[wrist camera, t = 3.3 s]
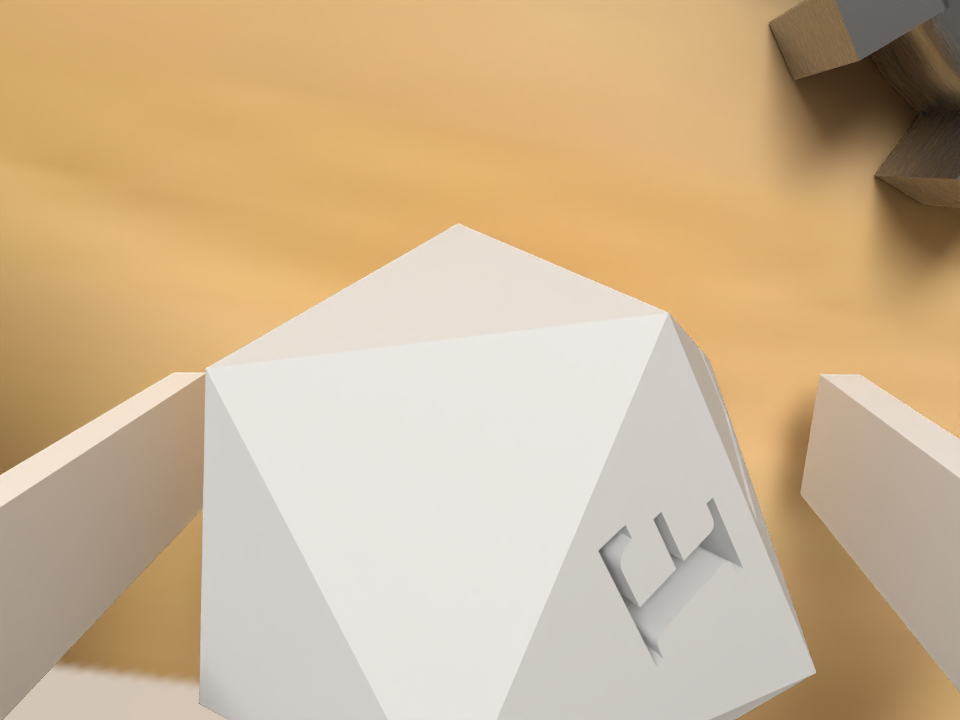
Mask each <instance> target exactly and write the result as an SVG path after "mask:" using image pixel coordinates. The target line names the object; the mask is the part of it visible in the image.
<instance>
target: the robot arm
mask: <svg viewBox="0 0 960 720" xmlns="http://www.w3.org/2000/svg"><path fill="white" fill-rule="evenodd" d="M205 378H206V372H174V373H172V374H170V375H168V376H167V377H165V378H163V379H162V380H160V381H158V382H157V383H155V384H153V385H152V386H150V387H148V388H147V389H145V390H143V391H141V392H140V393H138V394H136V395H135V396H133V397H131V398H130V399H128V400H126V401H125V402H123V403H121V404H119V405H118V406H116V407H114V408H113V409H111V410H109V411H108V412H106V413H104V414H103V415H101V416H99V417H98V418H96V419H94V420H92V421H91V422H89V423H87V424H86V425H84V426H82V427H81V428H79V429H77V430H76V431H74V432H72V433H70V434H69V435H67V436H65V437H64V438H62V439H60V440H59V441H57V442H55V443H54V444H52V445H50V446H49V447H47V448H45V449H43V450H42V451H40V452H38V453H37V454H35V455H33V456H32V457H30V458H28V459H27V460H25V461H23V462H21V463H20V464H18V465H16V466H15V467H13V468H11V469H10V470H8V471H6V472H5V473H3V474H1V475H0V720H3V719H4V718H5V717H6V716H7V715H8V714H9V713H10V712H11V710H12V709H13V708H14V707H15V706H16V705H17V704H18V703H19V702H20V701H21V700H22V699H23V698H24V697H25V696H26V695H27V694H28V693H29V691H30V690H31V689H32V688H33V687H34V686H35V685H36V684H37V683H38V682H39V681H40V680H41V679H42V678H43V677H44V676H45V675H46V674H47V672H48V671H49V670H50V669H51V668H52V667H53V666H54V665H55V664H56V663H57V662H58V661H59V660H60V659H61V658H62V657H63V656H64V655H65V653H66V652H67V651H68V650H69V649H70V648H71V647H72V646H73V645H74V644H75V643H76V642H77V641H78V640H79V639H80V638H81V637H82V635H83V634H84V633H85V632H86V631H87V630H88V629H89V628H90V627H91V626H92V625H93V624H94V623H95V622H96V621H97V620H98V619H99V618H100V616H101V615H102V614H103V613H104V612H105V611H106V610H107V609H108V608H109V607H110V606H111V605H112V604H113V603H114V602H115V601H116V600H117V598H118V597H119V596H120V595H121V594H122V593H123V592H124V591H125V590H126V589H127V588H128V587H129V586H130V585H131V584H132V583H133V582H134V581H135V579H136V578H137V577H138V576H139V575H140V574H141V573H142V572H143V571H144V570H145V569H146V568H147V567H148V566H149V565H150V564H151V563H152V561H153V560H154V559H155V558H156V557H157V556H158V555H159V554H160V553H161V552H162V551H163V550H164V549H165V548H166V547H167V546H168V545H169V544H170V542H171V541H172V540H173V539H174V538H175V537H176V536H177V535H178V534H179V533H180V532H181V531H182V530H183V529H184V528H185V527H186V526H187V524H188V523H189V522H190V521H191V520H192V519H193V518H194V517H195V516H196V515H197V514H198V513H199V512H200V511H201V510H202V509H203V482H204V430H205ZM800 494H801V496H802V497H803V498H804V499H805V501H806V502H807V503H808V504H809V506H810V507H811V508H812V509H813V511H814V512H815V513H816V514H817V516H818V517H819V518H820V519H821V520H822V522H823V523H824V524H825V525H826V527H827V528H828V529H829V530H830V532H831V533H832V534H833V535H834V537H835V538H836V539H837V540H838V542H839V543H840V544H841V545H842V547H843V548H844V549H845V550H846V552H847V553H848V554H849V555H850V557H851V558H852V559H853V560H854V562H855V563H856V564H857V565H858V566H859V568H860V569H861V570H862V571H863V573H864V574H865V575H866V576H867V578H868V579H869V580H870V581H871V583H872V584H873V585H874V586H875V588H876V589H877V590H878V591H879V593H880V594H881V595H882V596H883V598H884V599H885V600H886V601H887V603H888V604H889V605H890V606H891V608H892V609H893V610H894V611H895V612H896V614H897V615H898V616H899V617H900V619H901V620H902V621H903V622H904V624H905V625H906V626H907V627H908V629H909V630H910V631H911V632H912V634H913V635H914V636H915V637H916V639H917V640H918V641H919V642H920V644H921V645H922V646H923V647H924V649H925V650H926V651H927V652H928V654H929V655H930V656H931V657H932V658H933V660H934V661H935V662H936V663H937V665H938V666H939V667H940V668H941V670H942V671H943V672H944V673H945V675H946V676H947V677H948V678H949V680H950V681H951V682H952V683H953V685H954V686H955V687H956V688H957V690H958V691H959V692H960V439H958V438H956V437H955V436H953V435H952V434H950V433H949V432H947V431H946V430H944V429H943V428H941V427H940V426H938V425H937V424H935V423H934V422H932V421H930V420H929V419H927V418H926V417H924V416H923V415H921V414H920V413H918V412H917V411H915V410H914V409H912V408H911V407H909V406H907V405H906V404H904V403H903V402H901V401H900V400H898V399H897V398H895V397H894V396H892V395H891V394H889V393H888V392H886V391H884V390H883V389H881V388H880V387H878V386H877V385H875V384H874V383H872V382H871V381H869V380H868V379H866V378H865V377H863V376H861V375H860V374H820V375H819V381H818V388H817V394H816V400H815V406H814V412H813V418H812V424H811V431H810V437H809V443H808V449H807V455H806V461H805V468H804V474H803V480H802V486H801V492H800Z"/></svg>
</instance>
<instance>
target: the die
mask: <svg viewBox="0 0 960 720" xmlns="http://www.w3.org/2000/svg"><path fill="white" fill-rule="evenodd" d="M815 673H816V670H815V667H814V664H813V661H812V658H811V655H810V652H809V649H808V646H807V644H806V641H805V638H804V635H803V632H802V629H801V626H800V623H799V620H798V617H797V614H796V611H795V608H794V605H793V603H792V600H791V597H790V594H789V591H788V588H787V585H786V582H785V579H784V576H783V573H782V570H781V567H780V564H779V561H778V559H777V556H776V553H775V550H774V547H773V544H772V541H771V538H770V535H769V532H768V529H767V526H766V523H765V520H764V517H763V515H762V512H761V509H760V506H759V503H758V500H757V497H756V494H755V491H754V488H753V485H752V482H751V479H750V476H749V473H748V471H747V468H746V465H745V462H744V459H743V456H742V453H741V450H740V447H739V444H738V441H737V438H736V435H735V432H734V429H733V427H732V424H731V421H730V418H729V415H728V412H727V409H726V406H725V403H724V400H723V397H722V394H721V391H720V388H719V385H718V383H717V380H716V377H715V374H714V371H713V368H712V365H711V362H710V359H709V358H708V357H707V356H706V355H705V354H704V353H703V351H702V350H701V349H699V347H698V346H697V345H696V343H695V342H694V341H693V340H692V339H691V338H690V337H689V335H688V334H687V333H686V332H685V331H684V330H683V329H682V327H681V326H680V325H679V324H678V323H677V322H676V321H675V319H674V318H673V317H672V316H671V315H670V314H669V313H668V312H666V311H663V310H661V309H659V308H656V307H654V306H652V305H649V304H647V303H645V302H642V301H640V300H638V299H635V298H633V297H631V296H628V295H626V294H623V293H621V292H619V291H616V290H614V289H612V288H609V287H607V286H605V285H602V284H600V283H598V282H595V281H593V280H591V279H588V278H586V277H583V276H581V275H579V274H576V273H574V272H572V271H569V270H567V269H565V268H562V267H560V266H558V265H555V264H553V263H551V262H548V261H546V260H543V259H541V258H539V257H536V256H534V255H532V254H529V253H527V252H525V251H522V250H520V249H518V248H515V247H513V246H511V245H508V244H506V243H503V242H501V241H499V240H496V239H494V238H492V237H489V236H487V235H485V234H482V233H480V232H478V231H475V230H473V229H471V228H468V227H466V226H463V225H461V224H459V223H458V224H456V225H454V226H453V227H451V228H449V229H447V230H446V231H444V232H442V233H440V234H439V235H437V236H435V237H433V238H432V239H430V240H428V241H426V242H425V243H423V244H421V245H419V246H418V247H416V248H414V249H412V250H411V251H409V252H407V253H406V254H404V255H402V256H400V257H399V258H397V259H395V260H393V261H392V262H390V263H388V264H386V265H385V266H383V267H381V268H379V269H378V270H376V271H374V272H372V273H371V274H369V275H367V276H365V277H364V278H362V279H360V280H359V281H357V282H355V283H353V284H352V285H350V286H348V287H346V288H345V289H343V290H341V291H339V292H338V293H336V294H334V295H332V296H331V297H329V298H327V299H325V300H324V301H322V302H320V303H318V304H317V305H315V306H313V307H312V308H310V309H308V310H306V311H305V312H303V313H301V314H299V315H298V316H296V317H294V318H292V319H291V320H289V321H287V322H285V323H284V324H282V325H280V326H278V327H277V328H275V329H273V330H271V331H270V332H268V333H266V334H265V335H263V336H261V337H259V338H258V339H256V340H254V341H252V342H251V343H249V344H247V345H245V346H244V347H242V348H240V349H238V350H237V351H235V352H233V353H231V354H230V355H228V356H226V357H224V358H223V359H221V360H219V361H218V362H216V363H214V364H212V365H211V366H209V367H207V368H206V378H205V430H204V482H203V534H202V586H201V638H200V690H199V704H200V705H202V706H204V707H206V708H208V709H210V710H212V711H213V712H215V713H217V714H219V715H221V716H223V717H225V718H227V719H229V720H736V719H737V718H739V717H741V716H742V715H744V714H746V713H748V712H749V711H751V710H753V709H755V708H756V707H758V706H760V705H761V704H763V703H765V702H767V701H768V700H770V699H772V698H774V697H775V696H777V695H779V694H780V693H782V692H784V691H786V690H787V689H789V688H791V687H793V686H794V685H796V684H798V683H799V682H801V681H803V680H805V679H806V678H808V677H810V676H812V675H813V674H815Z"/></svg>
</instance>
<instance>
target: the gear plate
mask: <svg viewBox="0 0 960 720" xmlns="http://www.w3.org/2000/svg"><path fill="white" fill-rule="evenodd" d="M769 24H770V27H771V29H772V31H773V34H774V36H775V38H776V41H777V43H778V45H779V48H780V50H781V52H782V55H783V57H784V59H785V62H786V64H787V66H788V69H789V71H790V73H791V76H792V78H793V80H796V79H800V78H803V77H806V76H810V75H813V74H817V73H820V72H823V71H827V70H830V69H833V68H837V67H840V66H844V65H847V64H850V63H854V62H857V61H860V60H862V59H863V58H865V57H867V56H868V55H869V56H870V57H871V59H872V60H873V61H874V63H875V64H876V66H877V67H878V69H879V70H880V72H881V73H882V74H883V76H884V77H885V79H886V80H887V81H888V83H889V84H890V85H891V86H892V87H893V88H894V89H895V90H896V91H897V92H898V93H899V94H900V95H901V96H902V97H903V98H904V99H905V100H906V101H907V102H908V103H909V104H910V105H911V106H912V108H914V109H915V110H916V111H918V112H919V113H920V115H919V116H918V117H917V119H916V120H915V121H914V123H913V124H912V125H911V127H910V128H909V129H908V131H907V132H906V133H905V135H904V136H903V137H902V139H901V140H900V141H899V143H898V144H897V145H896V147H895V148H894V150H893V151H892V152H891V154H890V155H889V156H888V158H887V159H886V160H885V162H884V163H883V164H882V166H881V167H880V168H879V170H878V171H877V172H876V174H875V176H876V177H878V178H879V179H881V180H883V181H884V182H886V183H888V184H889V185H891V186H893V187H894V188H896V189H897V190H899V191H901V192H902V193H904V194H906V195H907V196H909V197H910V198H912V199H914V200H915V201H917V202H919V203H920V204H924V205H933V206H941V207H950V208H959V209H960V0H804V1H803V2H801V3H800V4H798V5H796V6H795V7H793V8H792V9H790V10H789V11H787V12H785V13H784V14H782V15H781V16H779V17H777V18H776V19H774V20H773V21H771V22H769Z"/></svg>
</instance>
